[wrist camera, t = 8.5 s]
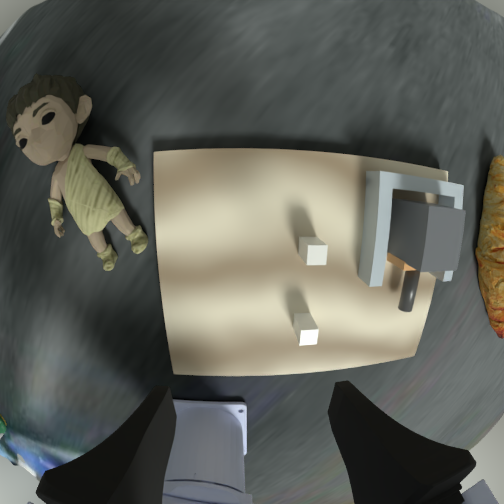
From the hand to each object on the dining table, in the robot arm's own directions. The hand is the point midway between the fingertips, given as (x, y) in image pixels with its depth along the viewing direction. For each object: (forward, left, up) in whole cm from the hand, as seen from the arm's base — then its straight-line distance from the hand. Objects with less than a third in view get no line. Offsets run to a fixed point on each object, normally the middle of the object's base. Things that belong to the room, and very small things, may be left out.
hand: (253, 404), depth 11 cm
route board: (+2, -5, -10) cm, 11 cm away
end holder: (+6, -12, -9) cm, 16 cm away
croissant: (+4, -27, -10) cm, 29 cm away
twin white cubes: (+2, -4, -9) cm, 10 cm away
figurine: (+10, +12, -10) cm, 19 cm away
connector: (+4, -12, -9) cm, 15 cm away
